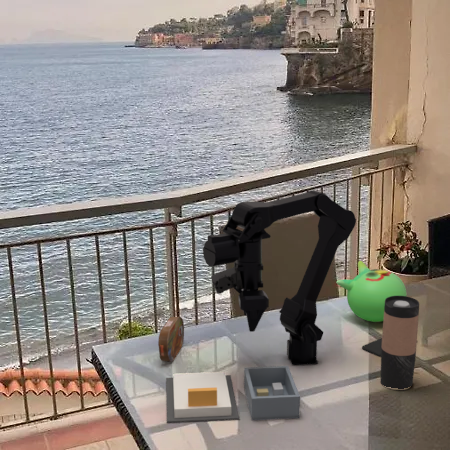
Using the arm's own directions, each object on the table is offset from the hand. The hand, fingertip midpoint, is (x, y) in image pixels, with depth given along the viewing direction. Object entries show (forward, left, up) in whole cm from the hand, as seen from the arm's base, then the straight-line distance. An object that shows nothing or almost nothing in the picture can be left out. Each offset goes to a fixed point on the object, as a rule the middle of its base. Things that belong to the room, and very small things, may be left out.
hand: (249, 323), depth 161 cm
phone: (-38, -12, -13) cm, 42 cm away
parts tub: (-3, +14, -13) cm, 19 cm away
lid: (+12, +11, -12) cm, 20 cm away
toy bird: (-39, -30, -13) cm, 51 cm away
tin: (+18, -12, -13) cm, 25 cm away
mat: (+12, +11, -13) cm, 20 cm away
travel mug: (-33, +8, -13) cm, 36 cm away
